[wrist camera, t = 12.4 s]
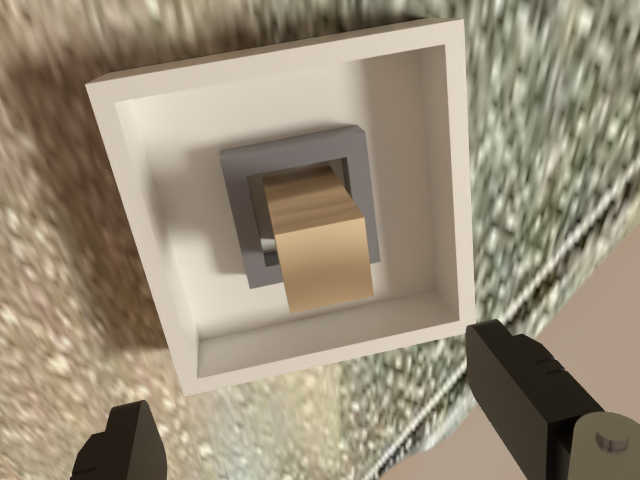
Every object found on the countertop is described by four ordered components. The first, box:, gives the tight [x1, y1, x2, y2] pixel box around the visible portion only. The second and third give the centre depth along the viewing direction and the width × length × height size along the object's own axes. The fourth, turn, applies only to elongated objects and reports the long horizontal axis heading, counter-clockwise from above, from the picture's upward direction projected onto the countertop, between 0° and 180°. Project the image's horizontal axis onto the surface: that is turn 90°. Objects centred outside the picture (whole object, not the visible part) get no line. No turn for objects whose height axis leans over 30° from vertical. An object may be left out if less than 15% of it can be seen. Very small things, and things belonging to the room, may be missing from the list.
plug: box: [262, 165, 374, 314], centre depth 29 cm, size 4×4×9 cm
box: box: [85, 18, 476, 396], centre depth 31 cm, size 18×18×5 cm
